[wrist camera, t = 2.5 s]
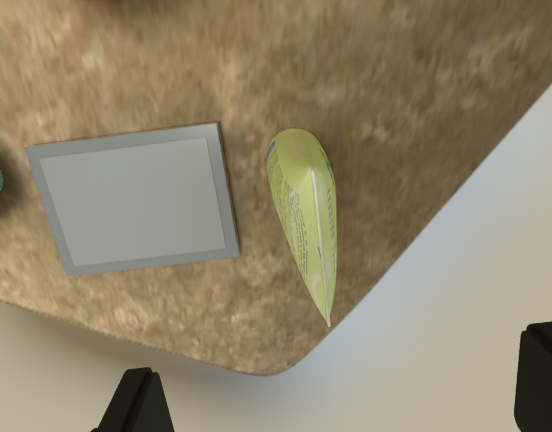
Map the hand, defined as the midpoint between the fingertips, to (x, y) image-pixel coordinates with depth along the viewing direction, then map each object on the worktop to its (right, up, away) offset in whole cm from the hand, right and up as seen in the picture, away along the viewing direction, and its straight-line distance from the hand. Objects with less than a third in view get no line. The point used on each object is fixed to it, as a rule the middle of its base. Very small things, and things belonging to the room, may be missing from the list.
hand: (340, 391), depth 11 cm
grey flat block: (-14, +6, +26) cm, 30 cm away
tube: (0, +10, +25) cm, 27 cm away
